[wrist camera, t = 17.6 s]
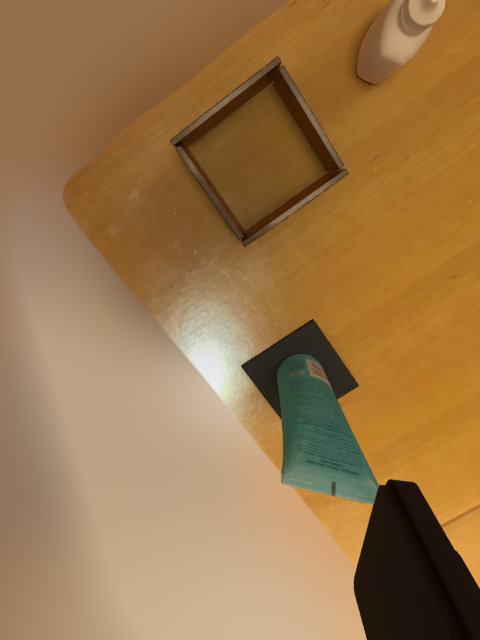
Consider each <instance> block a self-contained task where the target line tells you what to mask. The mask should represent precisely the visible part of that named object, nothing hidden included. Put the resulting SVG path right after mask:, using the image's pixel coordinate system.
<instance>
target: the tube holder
mask: <svg viewBox="0 0 480 640" xmlns="http://www.w3.org/2000/svg"><path fill="white" fill-rule="evenodd" d="M280 65H281V60H280V58H279V57H278V56H277V57H276V58H275V59H274V60H272V61H271V62H270V63H268V64H267V65H266V66H265V67H263V68H262V69H261V70H259V71H258V72H257V73H256V74H254V75H253V76H252V77H250V78H249V79H248V80H247V81H245V82H244V83H243V84H242V85H240V86H239V87H238V88H236V89H235V90H234V91H233V92H231V93H230V94H229V95H227V96H226V97H225V98H224V99H222V100H221V101H220V102H218V103H217V104H216V105H215V106H213V107H212V108H211V109H210V110H208V111H207V112H206V113H204V114H203V115H202V116H201V117H199V118H198V119H197V120H195V121H194V122H193V123H192V124H190V125H189V126H188V127H186V128H185V129H184V130H183V131H181V132H180V133H179V134H178V135H176V136H175V137H174V138H172V139H171V140H170V142H171V143H172V145H173V146H175V147H177V148H176V150H177V152H178V153H179V155H180V156H181V157H182V159H183V160H184V162H185V163H186V165H187V166H188V167H189V169H190V170H191V172H192V173H193V175H194V176H195V177H196V179H197V180H198V182H199V183H200V185H201V186H202V187H203V189H204V190H205V192H206V193H207V195H208V196H209V197H210V199H211V200H212V202H213V203H214V205H215V206H216V207H217V209H218V210H219V212H220V213H221V215H222V216H223V217H224V219H225V220H226V222H227V223H228V225H229V226H230V228H231V229H232V230H233V232H234V233H235V235H236V236H237V238H238V239H239V240H240V239H241V243H242V245H243V246H244V247H246V246H247V245H249V244H250V243H252V242H253V241H254V240H256V239H257V238H259V237H260V236H261V235H263V234H264V233H266V232H267V231H269V230H270V229H271V228H273V227H274V226H276V225H277V224H279V223H280V222H281V221H283V220H284V219H286V218H287V217H288V216H290V215H291V214H293V213H294V212H296V211H297V210H298V209H300V208H301V207H303V206H304V205H305V204H307V203H308V202H310V201H311V200H313V199H314V198H315V197H317V196H318V195H320V194H321V193H322V192H324V191H325V190H327V189H328V188H330V187H331V186H332V185H334V184H335V183H337V182H338V181H340V180H341V179H342V178H344V177H345V176H347V175H348V174H349V172H348V171H347V169H340V168H342V167H343V166H344V164H343V162H342V161H341V159H340V157H339V156H338V154H337V152H336V151H335V149H334V147H333V146H332V144H331V142H330V141H329V139H328V138H327V136H326V134H325V133H324V131H323V129H322V128H321V126H320V124H319V123H318V121H317V119H316V118H315V116H314V114H313V113H312V111H311V109H310V108H309V106H308V105H307V103H306V101H305V100H304V98H303V96H302V95H301V93H300V91H299V90H298V88H297V86H296V85H295V83H294V81H293V80H292V78H291V76H290V75H289V73H288V71H287V70H286V68H285V67H284V65H283V66H282V67H280ZM274 80H275V82H274V87H275V88H276V90H277V92H278V93H279V95H280V97H281V98H282V100H283V101H284V103H285V105H286V106H287V108H288V110H289V111H290V113H291V114H292V116H293V118H294V119H295V121H296V122H297V124H298V126H299V127H300V129H301V131H302V132H303V134H304V135H305V137H306V139H307V140H308V142H309V143H310V145H311V147H312V148H313V150H314V152H315V153H316V155H317V156H318V158H319V160H320V161H321V163H322V165H323V166H324V168H325V169H326V171H327V170H332V171H330V172H329V173H327V174H326V175H325V176H323V177H322V178H320V179H319V180H318V181H316V182H315V183H313V184H312V185H311V186H309V187H308V188H306V189H305V190H304V191H302V192H301V193H299V194H298V195H297V196H295V197H294V198H292V199H291V200H290V201H288V202H287V203H285V204H284V205H283V206H281V207H280V208H278V209H277V210H275V211H274V212H273V213H271V214H270V215H268V216H267V217H266V218H264V219H263V220H261V221H260V222H259V223H257V224H256V225H254V226H253V227H252V228H250V229H249V230H247V231H246V232H245V233H244V229H243V227H242V226H241V225H240V223H239V222H238V220H237V219H236V217H235V216H234V214H233V213H232V212H231V210H230V209H229V207H228V206H227V204H226V203H225V201H224V200H223V199H222V197H221V196H220V194H219V193H218V191H217V190H216V188H215V187H214V186H213V184H212V183H211V181H210V180H209V178H208V177H207V175H206V174H205V173H204V171H203V170H202V168H201V167H200V165H199V164H198V162H197V161H196V160H195V158H194V157H193V155H192V154H191V152H190V151H189V150H188V149H186V148H187V147H188V146H190V145H191V144H192V143H193V142H195V141H196V140H197V139H199V138H200V137H201V136H202V135H204V134H205V133H206V132H208V131H209V130H210V129H212V128H213V127H214V126H215V125H217V124H218V123H219V122H221V121H222V120H223V119H225V118H226V117H227V116H228V115H230V114H231V113H232V112H234V111H235V110H236V109H237V108H239V107H240V106H241V105H243V104H244V103H245V102H247V101H248V100H249V99H250V98H252V97H253V96H254V95H256V94H257V93H258V92H260V91H261V90H262V89H263V88H265V87H266V86H267V85H269V84H270V83H271V82H272V81H274ZM336 169H339V170H336Z"/></svg>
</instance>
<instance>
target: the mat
mask: <svg viewBox="0 0 480 640" xmlns="http://www.w3.org/2000/svg"><path fill="white" fill-rule="evenodd" d="M296 354H306V355H310V356H312V357H314V358H315V359H316V360H318V362H319V363H320V364H321V366H322V368H323V370H324V372H325V374H326V377H327V379H328V381H329V383H330V385H331V387H332V390H333V392H334V394H335V396H336V398H337V399H338V398H340V397H342V396H343V395H345V394H346V393H348V392H350V391H351V390H353V389H355V388H356V387H358V386H359V385H358V384H357V382H356V381H355V379H354V378H353V376H352V375H351V373H350V372H349V370H348V369H347V368H346V366H345V365H344V363H343V362H342V360H341V359H340V357H339V356H338V354H337V353H336V352H335V350H334V349H333V347H332V346H331V344H330V343H329V341H328V340H327V338H326V337H325V336H324V334H323V333H322V331H321V330H320V328H319V327H318V325H317V324H316V322H315V321H314V320H313V319H312V320H311V321H309V322H308V323H306V324H305V325H303V326H302V327H300V328H298V329H297V330H295V331H294V332H292V333H291V334H289V335H288V336H286V337H285V338H283V339H282V340H280V341H278V342H277V343H275V344H274V345H272V346H271V347H269V348H268V349H266V350H265V351H263V352H262V353H260V354H259V355H257V356H255V357H254V358H252V359H251V360H249V361H248V362H246V363H245V364H243V365H242V368H243V370H244V371H245V372H246V374H247V375H248V376H249V377H250V379H251V380H252V381H253V383H254V384H255V385H256V387H257V388H258V389H259V391H260V392H261V393H262V395H263V396H264V397H265V399H266V400H267V401H268V403H269V404H270V405H271V406H272V408H273V409H274V410H275V412H276V413H277V414H278V416H279V417H280V418H281V420H282V416H281V405H280V396H279V388H278V381H277V372H278V369H279V366H280V365H281V363H282V362H283V361H284V360H285V359H286V358H288V357H290V356H292V355H296Z"/></svg>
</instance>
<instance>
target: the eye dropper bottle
mask: <svg viewBox="0 0 480 640" xmlns="http://www.w3.org/2000/svg"><path fill="white" fill-rule="evenodd" d="M444 6H445V0H391V1H390V2H389V4H388V5H387V6H386V7H385V8H384V10H383V11H382V12H381V13H380V15H379V16H378V17H377V18H376V19H375V21H374V22H373V23H372V25H371V26H370V28H369V30H368V31H367V33H366V35H365V37H364V39H363V41H362V44H361V47H360V50H359V54H358V59H357V75H358V76H359V77H360V78H361V79H363V80H365V81H368V82H370V83H372V84H378V83H380V82H382V81H383V80H385V79H386V78H387V77H389V76H390V75H392V74H393V73H394V72H396V71H397V70H398V69H400V68H401V67H402V66H403V65H405V64H406V63H407V62H408V61H409V60H410V59H411V58H412V57H413V56H414V55H415V54H416V53H417V51H418V50H419V49H420V47H421V46H422V45H423V43H424V42H425V40H426V38H427V37H428V35H429V33H430V31H431V29H432V26H433V24H434V23H435V22H436V21H437V20H438V19H439V18H440V16H441V15H442V13H443V10H444V8H445V7H444Z"/></svg>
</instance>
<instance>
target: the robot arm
mask: <svg viewBox="0 0 480 640" xmlns="http://www.w3.org/2000/svg"><path fill="white" fill-rule="evenodd" d="M354 593H355V597H356V601H357V604H358V608H359V612H360V615H361V619H362V623H363V626H364V630H365V633H366V638H367V640H480V588H479V587H478V585H477V583H476V582H475V580H474V578H473V576H472V575H471V573H470V571H469V570H468V568H467V566H466V564H465V563H464V561H463V559H462V558H461V556H460V555H459V554H458V552H457V551H455V550H454V548H453V546H452V545H451V543H450V541H449V539H448V538H447V536H446V534H445V532H444V531H443V529H442V527H441V525H440V524H439V522H438V520H437V518H436V517H435V515H434V513H433V511H432V510H431V508H430V506H429V505H428V503H427V501H426V499H425V498H424V496H423V494H422V492H421V491H420V489H419V487H418V486H417V484H416V483H414V482H407V481H399V480H391V479H390V480H388V481H387V483H386V485H380V486H379V487H378V490H377V494H376V497H375V501H374V505H373V509H372V512H371V516H370V520H369V524H368V527H367V531H366V535H365V539H364V542H363V546H362V550H361V554H360V557H359V561H358V565H357V569H356V573H355V577H354Z"/></svg>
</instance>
